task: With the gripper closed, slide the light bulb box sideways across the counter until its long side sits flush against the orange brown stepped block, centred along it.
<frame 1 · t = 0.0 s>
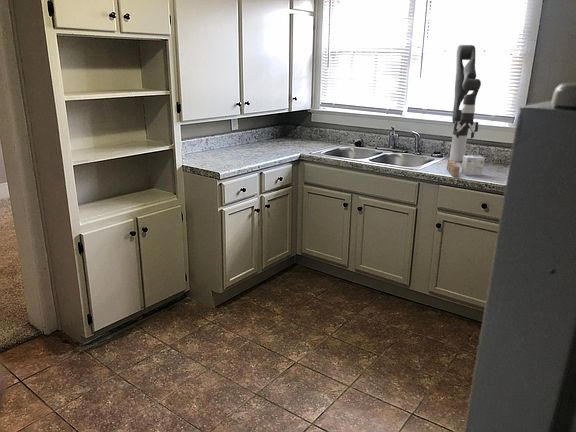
hand: (464, 138, 303), 17 cm above the worktop, tool pointing down, fingers open, 8 cm apart
orange brown stepped block: (452, 173, 286), on the worktop
light bulb box: (471, 174, 285), on the worktop
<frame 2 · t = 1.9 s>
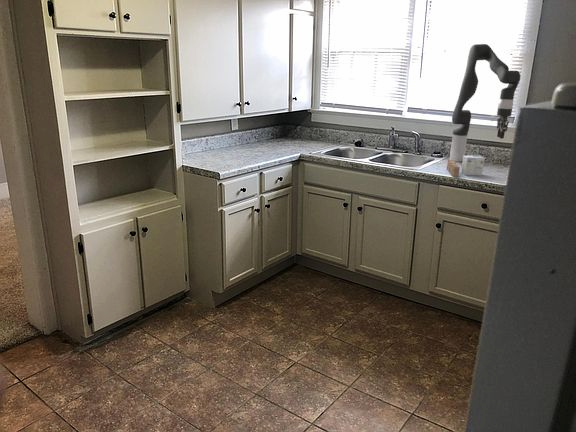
hand: (500, 137, 276), 22 cm above the worktop, tool pointing down, fingers open, 4 cm apart
nothing on the worktop moved.
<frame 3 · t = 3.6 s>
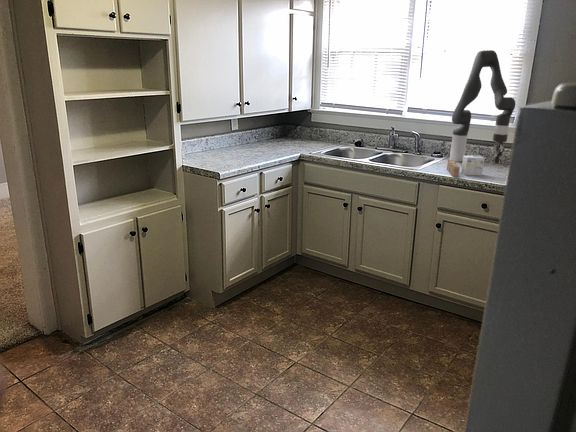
hand: (496, 162, 280), 8 cm above the worktop, tool pointing down, fingers closed
nothing on the worktop moved.
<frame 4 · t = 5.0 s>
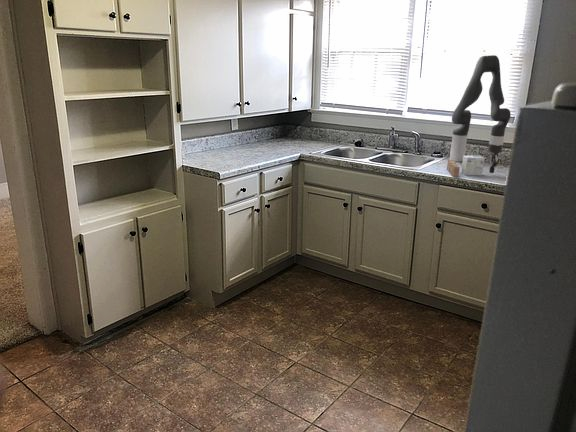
hand: (491, 172, 283), 1 cm above the worktop, tool pointing down, fingers closed
nothing on the worktop moved.
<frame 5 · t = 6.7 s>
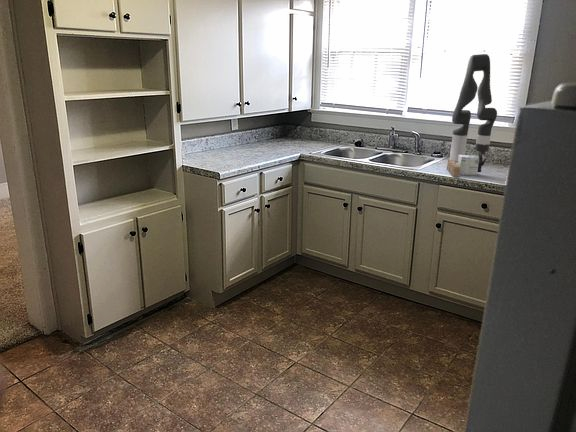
hand: (478, 171, 283), 2 cm above the worktop, tool pointing down, fingers closed
light bulb box: (466, 174, 285), on the worktop, touching hand
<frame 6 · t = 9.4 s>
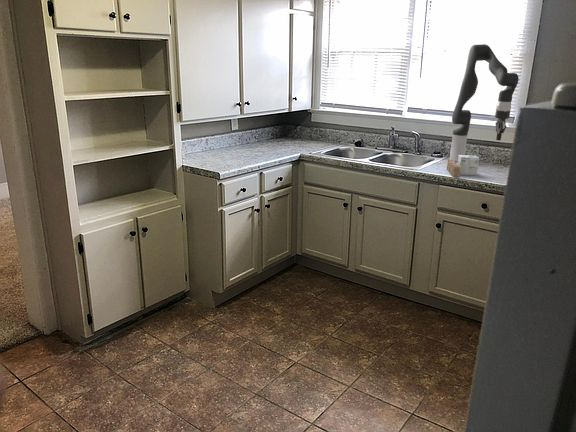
hand: (498, 140, 276), 21 cm above the worktop, tool pointing down, fingers closed
light bulb box: (466, 174, 285), on the worktop
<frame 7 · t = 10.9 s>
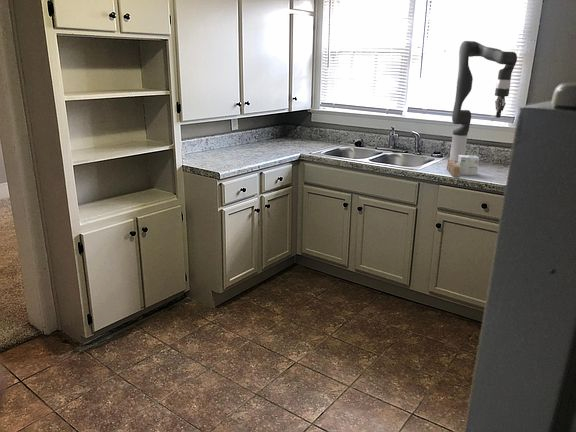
hand: (498, 117, 286), 32 cm above the worktop, tool pointing down, fingers closed
nothing on the worktop moved.
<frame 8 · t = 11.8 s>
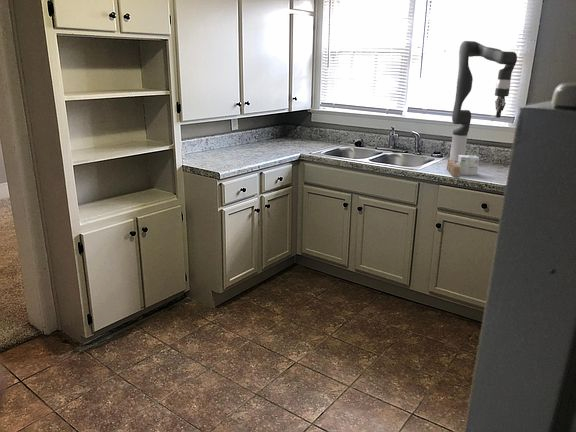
hand: (498, 117, 286), 32 cm above the worktop, tool pointing down, fingers closed
nothing on the worktop moved.
at the end: light bulb box 0.8 cm from the target spot on the worktop beside the orange brown stepped block, on the worktop; light bulb box tilted 0° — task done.
